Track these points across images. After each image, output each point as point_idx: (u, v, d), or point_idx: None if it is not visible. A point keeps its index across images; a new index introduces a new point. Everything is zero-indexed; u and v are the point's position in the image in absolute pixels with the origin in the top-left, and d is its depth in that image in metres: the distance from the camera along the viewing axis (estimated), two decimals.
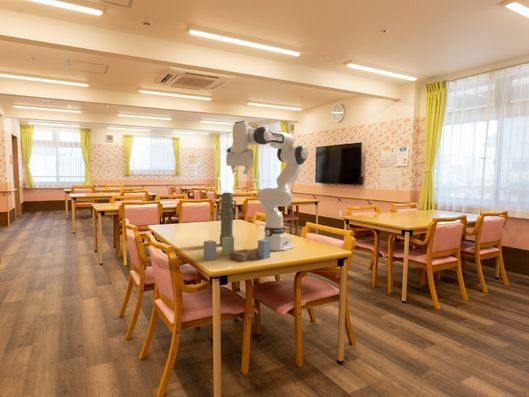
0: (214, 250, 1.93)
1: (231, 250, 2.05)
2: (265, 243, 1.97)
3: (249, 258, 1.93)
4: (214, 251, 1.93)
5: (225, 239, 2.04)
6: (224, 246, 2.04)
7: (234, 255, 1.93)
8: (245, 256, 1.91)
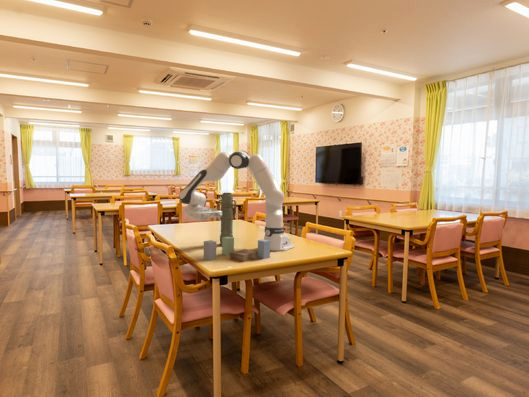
0: (214, 250, 1.93)
1: (231, 250, 2.05)
2: (265, 243, 1.97)
3: (249, 258, 1.93)
4: (214, 251, 1.93)
5: (225, 239, 2.04)
6: (224, 246, 2.04)
7: (234, 255, 1.93)
8: (246, 256, 1.91)
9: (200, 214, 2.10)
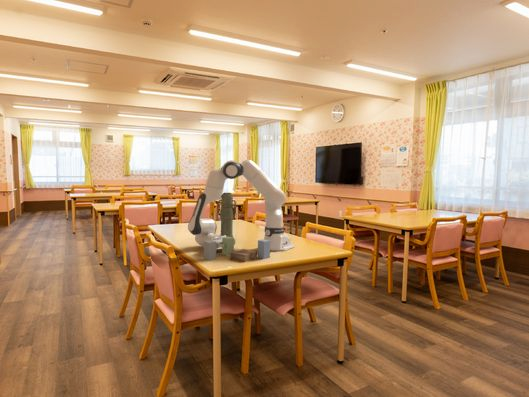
0: (214, 250, 1.93)
1: (231, 250, 2.05)
2: (265, 243, 1.97)
3: (250, 258, 1.94)
4: (214, 251, 1.93)
5: (225, 239, 2.04)
6: None
7: (235, 255, 1.93)
8: (247, 256, 1.91)
9: None
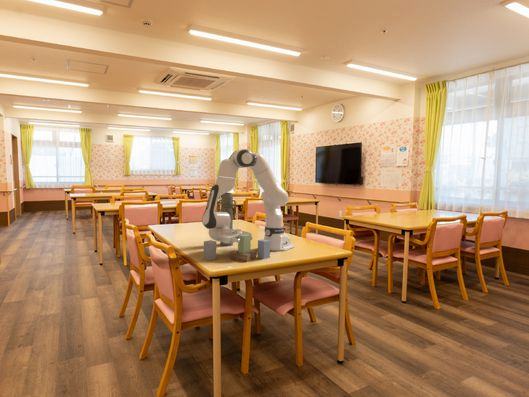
0: (214, 250, 1.93)
1: (248, 248, 1.95)
2: (265, 243, 1.97)
3: (251, 258, 1.94)
4: (214, 251, 1.93)
5: (241, 236, 1.94)
6: (240, 244, 1.95)
7: (236, 256, 1.92)
8: (248, 256, 1.91)
9: (229, 238, 1.93)
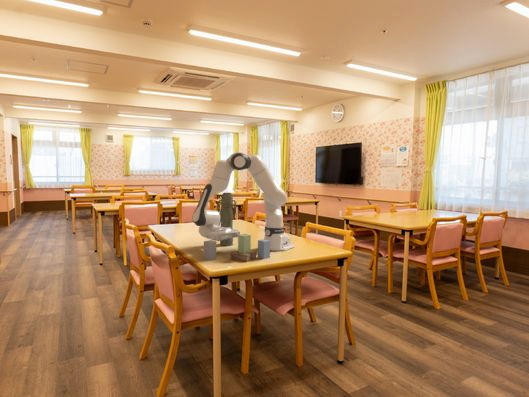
0: (214, 250, 1.93)
1: (248, 248, 1.95)
2: (265, 243, 1.97)
3: (251, 258, 1.94)
4: (214, 251, 1.93)
5: (241, 237, 1.94)
6: (240, 244, 1.95)
7: (236, 256, 1.92)
8: (248, 256, 1.91)
9: (218, 235, 2.00)
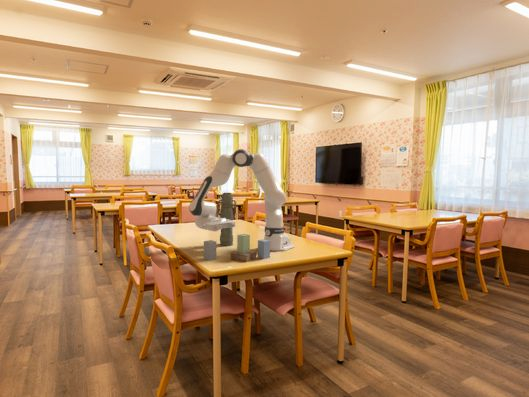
0: (214, 250, 1.93)
1: (247, 248, 1.96)
2: (265, 243, 1.97)
3: (251, 258, 1.94)
4: (214, 251, 1.93)
5: (241, 236, 1.94)
6: (240, 244, 1.95)
7: (236, 256, 1.92)
8: (248, 256, 1.91)
9: (213, 225, 2.04)
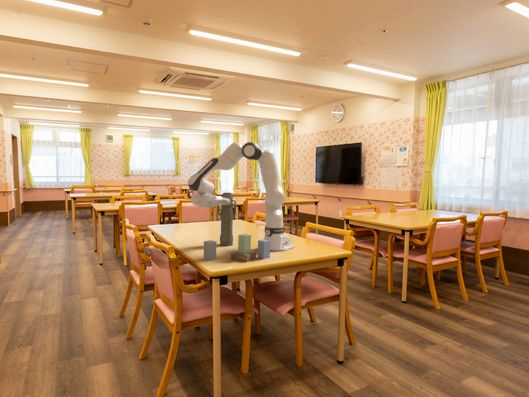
0: (214, 250, 1.93)
1: (248, 248, 1.95)
2: (265, 243, 1.97)
3: (251, 258, 1.94)
4: (214, 251, 1.93)
5: (242, 236, 1.94)
6: (241, 244, 1.95)
7: (236, 256, 1.92)
8: (248, 256, 1.91)
9: (208, 201, 2.08)
